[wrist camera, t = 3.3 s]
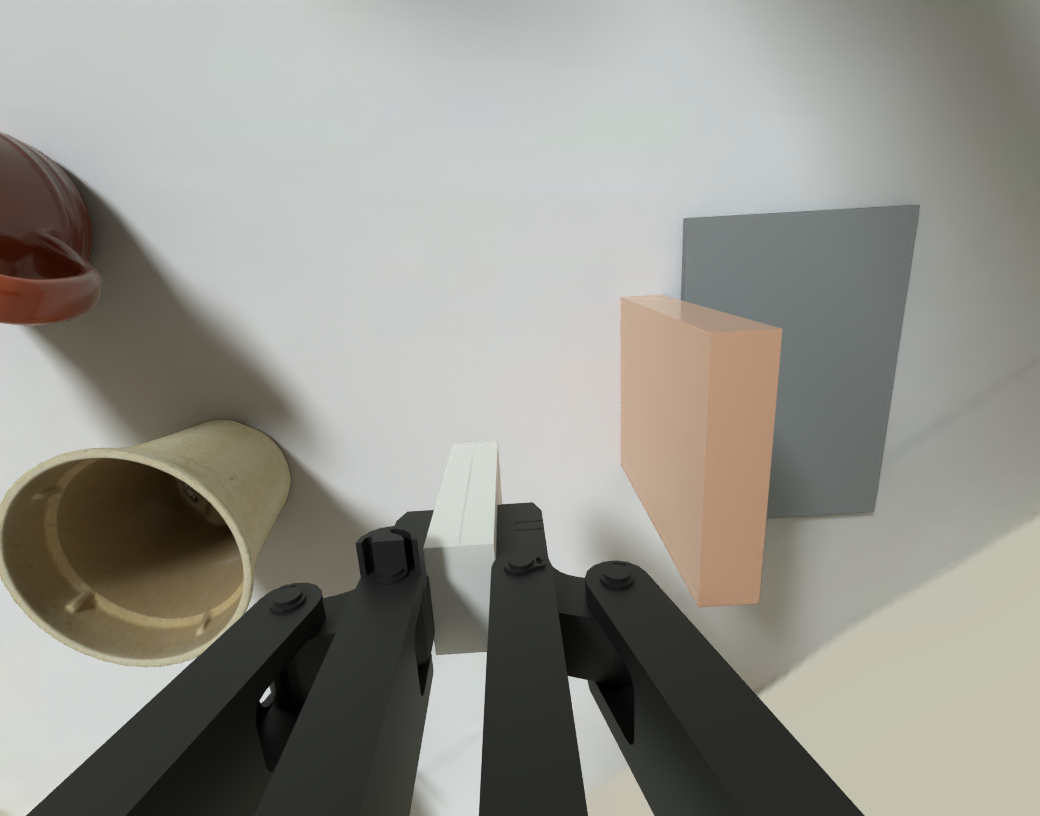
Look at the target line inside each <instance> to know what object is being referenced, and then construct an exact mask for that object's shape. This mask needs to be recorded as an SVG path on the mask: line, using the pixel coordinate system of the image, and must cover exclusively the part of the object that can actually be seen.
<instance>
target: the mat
mask: <svg viewBox="0 0 1040 816" xmlns="http://www.w3.org/2000/svg"><path fill="white" fill-rule="evenodd" d="M919 208H920V205H907V206H890V207H873V208H855V209H838V210H821V211H803V212H786V213H769V214H751V215H734V216H717V217H699V218H685V219H684V224H683V257H682V290H681V300H682V301H685V302H689V303H692V304H696V305H700V306H703V307H707V308H710V309H714V310H717V311H721V312H725V313H728V314H732V315H735V316H739V317H742V318H746V319H750V320H753V321H757V322H760V323H764V324H768V325H771V326H775V327H778V328H782V340H781V352H780V364H779V376H778V387H777V399H776V411H775V423H774V434H773V446H772V458H771V470H770V481H769V493H768V505H767V517H766V519H768V518H784V517H799V516H815V515H830V514H846V513H861V512H874V509H875V503H876V496H877V489H878V483H879V476H880V469H881V462H882V456H883V449H884V442H885V436H886V429H887V422H888V416H889V409H890V402H891V395H892V389H893V382H894V375H895V369H896V362H897V355H898V349H899V342H900V335H901V328H902V322H903V315H904V308H905V302H906V295H907V288H908V282H909V275H910V268H911V261H912V255H913V248H914V241H915V235H916V228H917V221H918V215H919Z"/></svg>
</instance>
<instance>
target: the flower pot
mask: <svg viewBox="0 0 1040 816" xmlns="http://www.w3.org/2000/svg"><path fill="white" fill-rule="evenodd" d="M184 482H185V483H186V484H188V485H189V486H190V487H191V489H192V491H193V492H194V494H195V496H196V497H198V499H199V500H198V501H196V500H194V499H193V498H192V497H190V496H189V495H188V493H187V491H186V490H185V488H184ZM290 484H291V477H290V471H289V467H288V464H287V461H286V459H285V457H284V455H283V453H282V452H281V450H280V449H279V447H278V446H277V445H276V444H275V443H274V442H273V440H272V439H270V438H269V437H268V436H267V435H266V434H264V433H263V432H260V431H258V430H256V429H253V428H250V427H248V426H245V425H243V424H240V423H238V422H235V421H231V420H213V421H207V422H203V423H200V424H198V425H196V426H193V427H190V428H187V429H184V430H182V431H179V432H176V433H173V434H170V435H167V436H164V437H161V438H158V439H155V440H152V441H149V442H145V443H142V444H139V445H136V446H133V447H131V448H91V449H84V450H77V451H73V452H69V453H64V454H61V455H59V456H56V457H53V458H51V459H49V460H47V461H44V462H42V463H40V464H38V465H37V466H35V467H33V468H32V469H30V470H29V471H27V472H26V473H25V474H23V475H22V476H21V477H20V478H19V479H18V480H17V481H16V482H15V483H14V484H13V486H12V487H11V488H10V489H9V490H8V491H7V493H6V494H5V497H4V499H3V501H2V502H1V504H0V576H1V580H2V581H3V583H4V586H5V587H6V588H7V590H8V591H9V592H10V595H11V596H12V597H13V600H14V601H15V603H16V604H18V605H19V607H20V608H21V609H22V610H23V611H24V612H25V613H26V614H27V615H28V617H29V618H30V619H31V620H32V621H33V622H35V623H36V624H37V625H38V626H39V627H40V628H41V629H43V630H44V631H45V632H46V633H48V634H49V635H51V636H52V637H53V638H55V639H56V640H58V641H59V642H61V643H63V644H64V645H66V646H68V647H70V648H73V649H74V650H76V651H79V652H81V653H84V654H86V655H89V656H91V657H94V658H97V659H99V660H103V661H107V662H112V663H115V664H121V665H125V666H138V667H157V666H159V667H160V666H165V665H171V664H179V663H182V662H184V661H188V660H191V659H194V658H195V657H198V656H199V655H200V654H202V653H203V652H204V651H205V650H206V649H207V648H208V647H209V646H210V645H211V644H212V643H213V642H215V641H216V640H217V639H218V638H219V637H220V636H221V635H222V634H223V633H224V632H225V631H226V630H227V629H229V628H230V627H231V626H232V625H233V624H234V623H235V622H236V621H237V620H238V619H239V618H240V617H242V616H243V615H244V614H245V612H246V610H247V608H248V605H249V602H250V600H251V597H252V592H253V586H254V570H255V565H256V558H257V556H258V554H259V552H260V550H261V548H262V546H263V544H264V542H265V540H266V538H267V536H268V534H269V532H270V531H271V529H272V527H273V525H274V523H275V521H276V519H277V517H278V515H279V513H280V511H281V510H282V508H283V507H284V505H285V503H286V501H287V498H288V494H289V490H290Z"/></svg>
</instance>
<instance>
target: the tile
mask: <svg viewBox="0 0 1040 816" xmlns="http://www.w3.org/2000/svg"><path fill="white" fill-rule="evenodd" d="M781 340H782V328H778V327H775V326H771V325H768V324H764V323H760V322H757V321H753V320H750V319H746V318H742V317H739V316H735V315H732V314H728V313H725V312H721V311H717V310H714V309H710V308H707V307H703V306H700V305H696V304H692V303H689V302H685V301H682V300H678V299H675V298H671V297H667V296H664V295H647V296H630V297H621V466H622V468H623V470H624V472H625V473H626V475H627V477H628V479H629V481H630V483H631V484H632V486H633V488H634V490H635V492H636V494H637V496H638V497H639V499H640V501H641V503H642V505H643V507H644V508H645V510H646V512H647V514H648V516H649V518H650V519H651V521H652V523H653V525H654V527H655V529H656V530H657V532H658V534H659V536H660V538H661V540H662V541H663V543H664V545H665V547H666V549H667V551H668V552H669V554H670V556H671V558H672V560H673V562H674V563H675V565H676V567H677V569H678V571H679V573H680V574H681V576H682V578H683V580H684V582H685V584H686V585H687V587H688V589H689V591H690V593H691V595H692V596H693V598H694V600H695V602H696V604H697V606H698V607H710V606H725V605H740V604H756V603H759V599H760V587H761V575H762V563H763V552H764V540H765V528H766V517H767V505H768V493H769V481H770V470H771V458H772V446H773V434H774V423H775V411H776V399H777V387H778V376H779V364H780V352H781Z"/></svg>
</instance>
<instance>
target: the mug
mask: <svg viewBox="0 0 1040 816" xmlns="http://www.w3.org/2000/svg"><path fill="white" fill-rule="evenodd" d="M92 244H93V226H92V221H91V218H90V215H89V212H88V209H87V207H86V205H85V202H84V200H83V198H82V196H81V194H80V192H79V191H78V189H77V187H76V186H75V184H74V183H73V182H72V180H71V179H70V178H69V176H68V175H67V174H66V173H65V172H64V171H63V170H62V169H61V168H60V167H59V166H58V165H57V164H56V163H55V162H54V161H53V160H51V159H50V158H49V157H48V156H46V155H45V154H43V153H42V152H40V151H39V150H37V149H35V148H34V147H32V146H30V145H28V144H26V143H23V142H21V141H19V140H17V139H15V138H13V137H11V136H9V135H7V134H4V133H2V132H0V323H5V324H12V325H44V324H52V323H58V322H64V321H68V320H72V319H75V318H78V317H81V316H83V315H85V314H87V313H88V312H90V311H91V310H92V309H93V308H94V307H95V306H96V304H97V303H98V300H99V298H100V294H101V290H102V277H101V275H100V273H99V272H98V271H97V269H95V268H94V267H93V266H92V265H91V264H90V263H89V259H90V256H91V251H92Z"/></svg>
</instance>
